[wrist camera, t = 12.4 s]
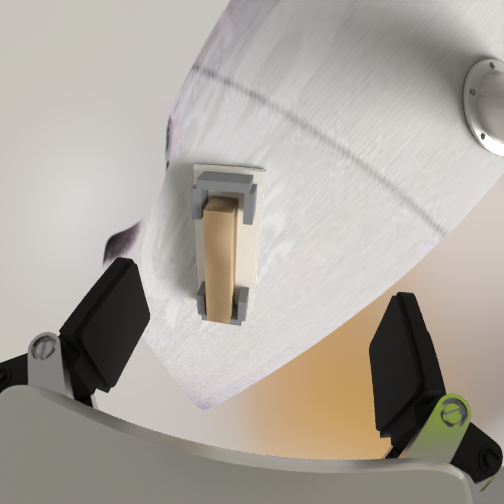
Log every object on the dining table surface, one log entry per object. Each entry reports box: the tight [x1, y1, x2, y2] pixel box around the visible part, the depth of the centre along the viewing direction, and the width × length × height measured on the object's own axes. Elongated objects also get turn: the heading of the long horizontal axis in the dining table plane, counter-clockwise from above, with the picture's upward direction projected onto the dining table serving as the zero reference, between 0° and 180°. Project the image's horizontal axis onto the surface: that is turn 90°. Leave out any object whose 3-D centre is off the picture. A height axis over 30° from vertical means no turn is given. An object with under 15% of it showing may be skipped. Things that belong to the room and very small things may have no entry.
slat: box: [203, 196, 239, 324], centre depth 35 cm, size 3×16×4 cm, turn 176°
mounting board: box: [192, 164, 266, 326], centre depth 35 cm, size 8×21×4 cm, turn 176°
